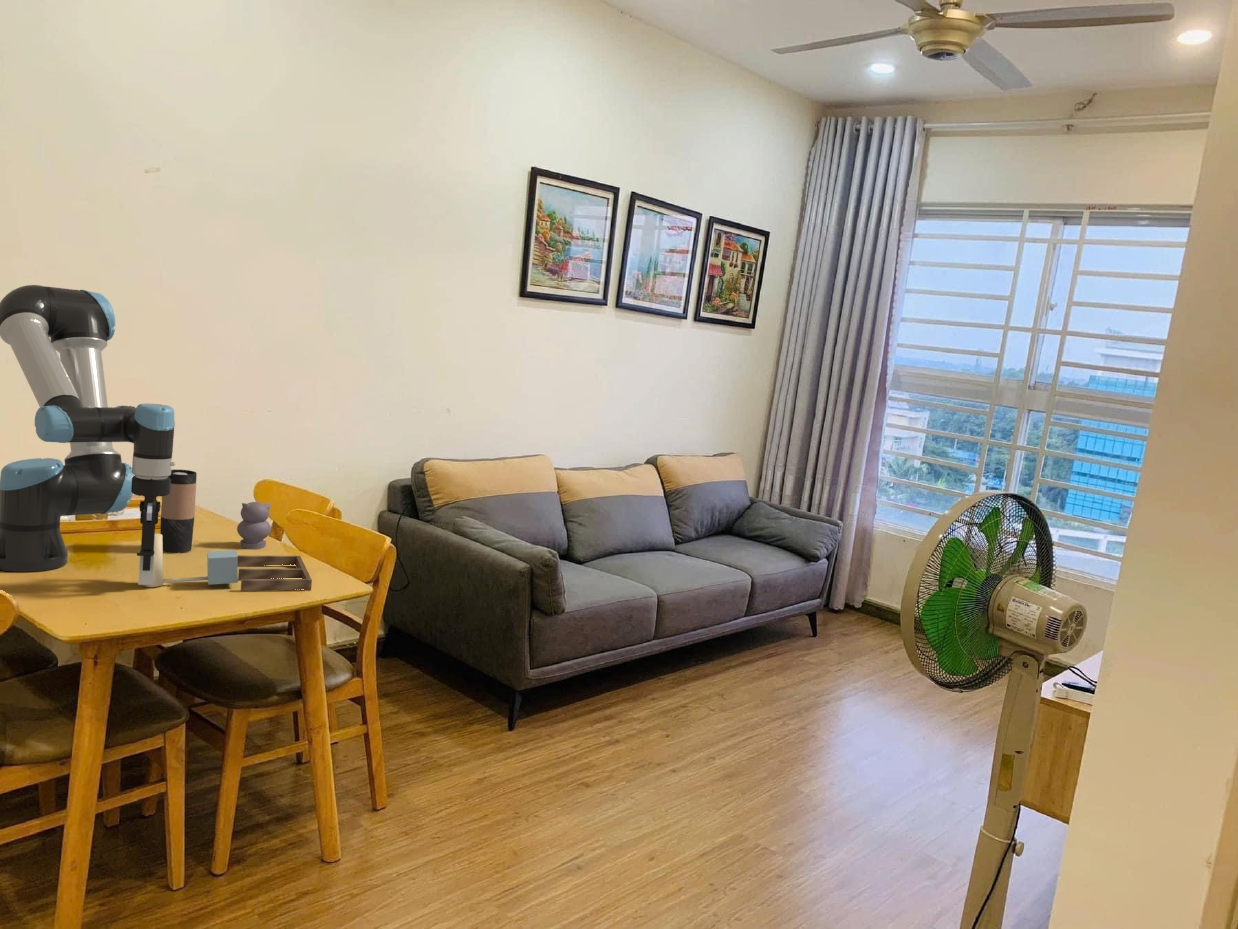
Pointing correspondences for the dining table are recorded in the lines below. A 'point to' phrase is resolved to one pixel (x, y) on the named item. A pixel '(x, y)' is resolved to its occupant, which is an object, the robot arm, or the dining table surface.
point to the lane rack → (273, 573)
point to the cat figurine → (254, 525)
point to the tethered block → (218, 566)
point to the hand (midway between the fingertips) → (145, 580)
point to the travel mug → (179, 512)
